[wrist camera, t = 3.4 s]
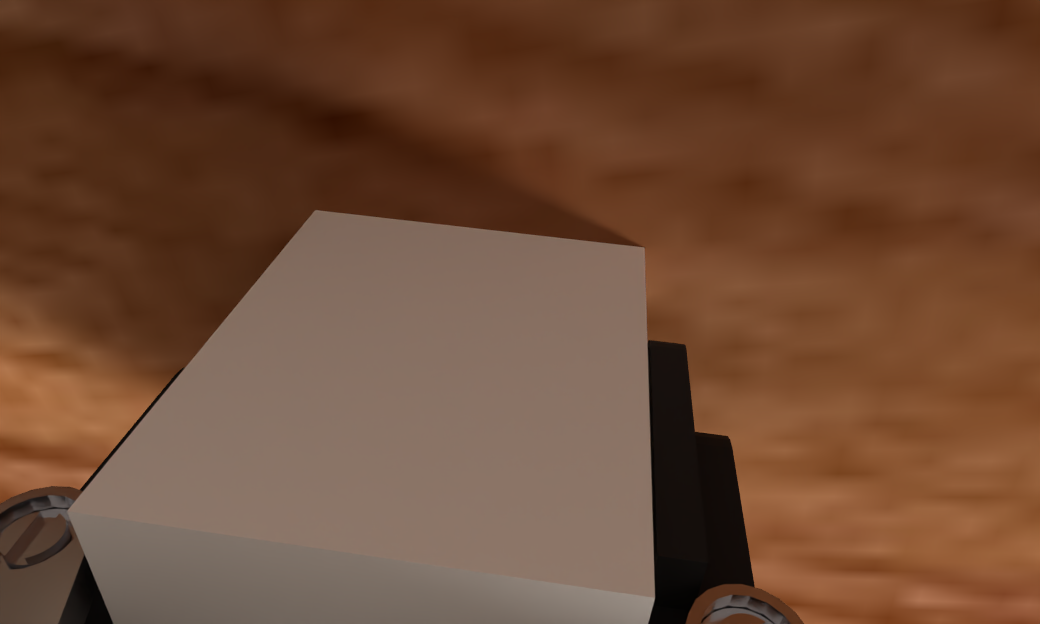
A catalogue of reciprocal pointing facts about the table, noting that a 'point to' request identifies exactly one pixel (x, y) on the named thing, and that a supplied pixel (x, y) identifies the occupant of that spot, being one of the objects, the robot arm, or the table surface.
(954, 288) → the table surface
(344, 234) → the white block
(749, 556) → the robot arm
